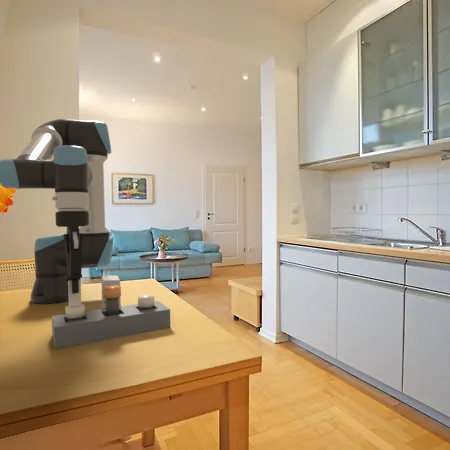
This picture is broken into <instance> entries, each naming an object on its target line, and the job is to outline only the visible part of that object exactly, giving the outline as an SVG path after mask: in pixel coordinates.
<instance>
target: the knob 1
mask: <svg viewBox="0 0 450 450" xmlns="http://www.w3.org/2000/svg"><path fill="white" fill-rule="evenodd" d="M85 311H86V307H85V304H83V303H81V305H80V306H72V307H69V304H68V305H66V306H65V314H66V318H68V321H69V322H73V321H79V320H82V317H83V316H84V315H85Z"/></svg>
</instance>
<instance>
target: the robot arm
mask: <svg viewBox="0 0 450 450" xmlns="http://www.w3.org/2000/svg"><path fill="white" fill-rule="evenodd" d="M110 139H111V138H110V135H109V130H108V125H107V124H106V122H104V121H102V120H101V121H99V120H94V119H92V120H91V119H67V118H59V119H53V120H50V121H48V122H45V123H43V124H41V125H39V126H37V128H35V129H34V131H33V132H32V134H31V137H30V141H29V142H28V144H27V145H26V146H25V147H24V148H23V150H22V151H21V153H19V155H18V156H17V157H16V158H4V159H0V185H1V187H3V188H5V189H16V190H18V189H19V190H21V189H29V190H30V189H54V196H52V198H51V199H52V201H54V202H55V203H54V204H55V209H57V210H58V211H55V226H56V227H58V228H65V227H66V233H59V234H52V235H47V236H41V237H38V238H36V240H35V241H34V251H33V252H34V267H35V268H34V270H35V280H34V283H33V286H32V290H31V292H30V302H31V303H33V304H44V305H45V304H56V303H57V304H58V303H61V302H66V301H67V302H68V305H69V307H72V306H80V305H81V304H82V288H81V287H82V285H81V283H82V281H81V278H83V275H82V269H88V268H89V269H91V268H93V269H95V268H96V269H99V268H106V267H107V268H108V266H110V265H111V264H112V263H111V262H112V255H113V249H114V236H113V235H110V230H109V229H108V228H106V214H105V213H106V211H105V180H104V179H105V177H104V174H105V173H104V172H105V171H104V170H105V169H104V163H105V161H107V159H108V156H109V155H110V154H112V145H111V141H110ZM52 159H53V160H52Z"/></svg>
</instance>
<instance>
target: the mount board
mask: <svg viewBox="0 0 450 450" xmlns="http://www.w3.org/2000/svg"><path fill="white" fill-rule="evenodd" d="M154 303H155V305H154V306H152V309H151V310H144V311H140V307H138V303H134V304H126V305H121V306H120V307H119V314H118V315H112V316H106V309H102V308H100V309H94V310H93V309H91V310H85V315H84V316H83V317H82V320H79V321H73V322H69V321H68V318H66V313H65V314H58V315H52V316H51V326H52V327H51V329H52V330H51V331H52V332H51V333H52V340H53V345H54V350H57V349H62V348H67V347H72V346H73V347H74V346H78V345H84V344H89V343H96V342H99V341H104V340H110V339H116V338H120V337H121V338H122V337H127V336H131V335H132V336H133V335H137V334H143V333H147V332H148V333H149V332H153V331H159V330H164V329H170V328H171V308H169V307H168V306H166V305H165V304H163V303H162V302H160V301H159V300H154Z"/></svg>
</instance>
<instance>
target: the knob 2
mask: <svg viewBox="0 0 450 450" xmlns="http://www.w3.org/2000/svg"><path fill="white" fill-rule="evenodd" d="M154 301H155V295H154V294H143V295H142V294H141V295H139V296H138V297H137V304H138V307H140V311H144V310H151V309H152V306H154V305H155V303H154Z"/></svg>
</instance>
